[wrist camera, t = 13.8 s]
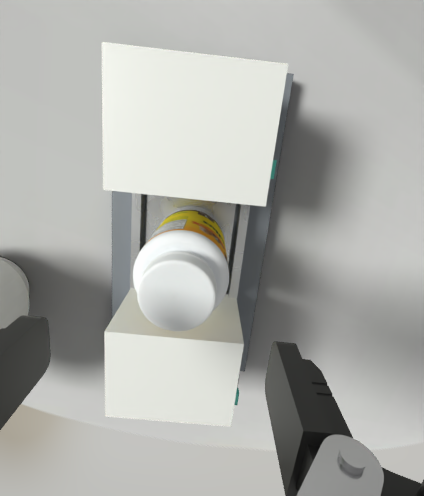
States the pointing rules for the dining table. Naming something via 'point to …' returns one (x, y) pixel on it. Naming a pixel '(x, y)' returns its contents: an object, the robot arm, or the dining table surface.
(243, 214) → the steel rail
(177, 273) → the supplement bottle
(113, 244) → the rail board
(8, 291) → the teacup
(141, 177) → the mounted modules
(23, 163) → the dining table surface
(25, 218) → the dining table surface
